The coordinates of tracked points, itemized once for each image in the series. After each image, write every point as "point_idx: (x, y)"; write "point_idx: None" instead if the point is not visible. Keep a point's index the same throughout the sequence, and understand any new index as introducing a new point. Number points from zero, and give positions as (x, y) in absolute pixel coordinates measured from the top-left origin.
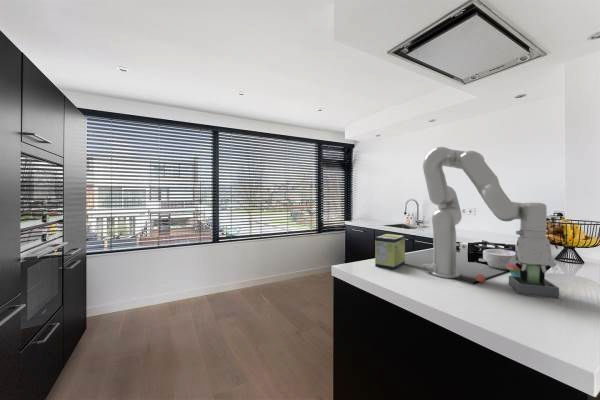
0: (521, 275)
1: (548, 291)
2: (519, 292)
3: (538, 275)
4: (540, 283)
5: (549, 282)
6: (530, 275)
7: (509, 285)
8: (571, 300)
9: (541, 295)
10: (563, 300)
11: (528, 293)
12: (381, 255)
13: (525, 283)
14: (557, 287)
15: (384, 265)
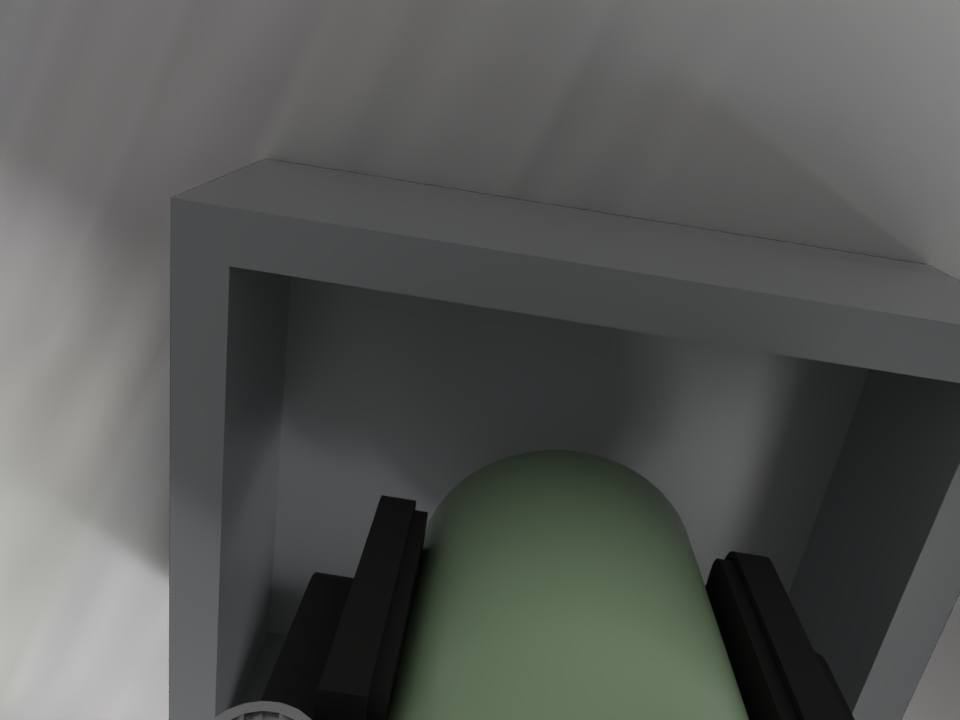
0: (843, 702)
1: (416, 206)
2: (926, 272)
3: (480, 615)
4: None
5: (201, 574)
6: (693, 630)
7: None
8: (77, 115)
9: (542, 209)
10: (224, 80)
11: (764, 249)
12: None
13: None
14: (194, 229)
15: None
